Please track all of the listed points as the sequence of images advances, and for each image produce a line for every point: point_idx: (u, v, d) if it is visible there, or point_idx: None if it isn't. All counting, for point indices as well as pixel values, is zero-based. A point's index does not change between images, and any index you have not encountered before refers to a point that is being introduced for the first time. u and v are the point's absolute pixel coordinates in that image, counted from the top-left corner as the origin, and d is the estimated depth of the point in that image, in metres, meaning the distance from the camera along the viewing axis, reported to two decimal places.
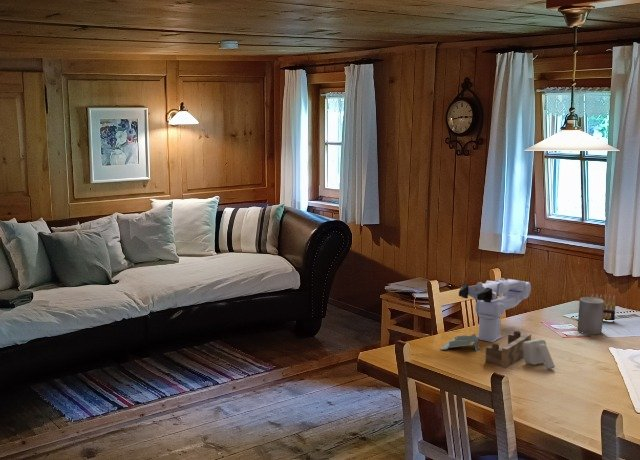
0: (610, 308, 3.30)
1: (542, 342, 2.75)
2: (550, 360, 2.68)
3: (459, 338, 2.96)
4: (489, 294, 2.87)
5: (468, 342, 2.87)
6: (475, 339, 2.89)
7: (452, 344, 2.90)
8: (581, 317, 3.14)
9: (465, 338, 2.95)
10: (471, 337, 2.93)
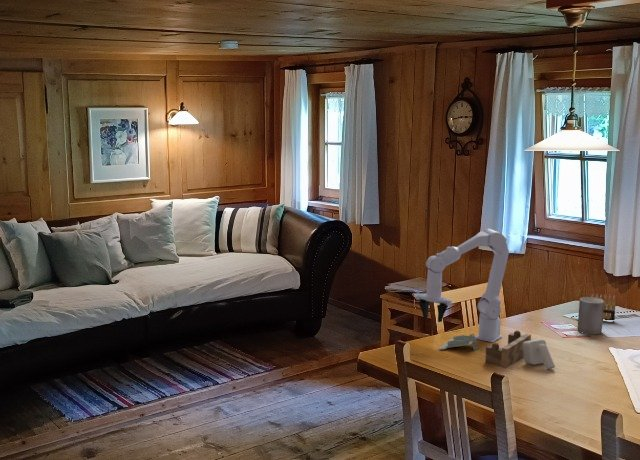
0: (610, 308, 3.30)
1: (542, 342, 2.75)
2: (550, 360, 2.68)
3: (457, 338, 2.96)
4: None
5: (466, 342, 2.87)
6: (473, 339, 2.90)
7: (450, 344, 2.90)
8: (581, 317, 3.14)
9: (463, 338, 2.95)
10: (469, 337, 2.94)
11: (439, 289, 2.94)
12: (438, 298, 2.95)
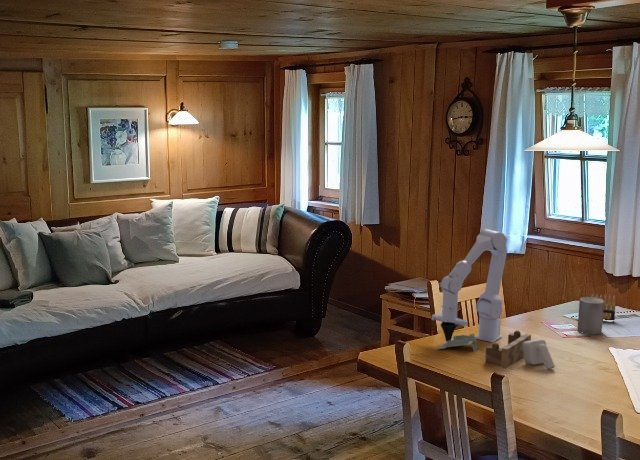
0: (610, 308, 3.30)
1: (542, 342, 2.75)
2: (550, 360, 2.68)
3: (458, 338, 2.96)
4: None
5: (466, 342, 2.87)
6: (473, 339, 2.89)
7: (450, 343, 2.90)
8: (581, 317, 3.14)
9: (464, 338, 2.95)
10: (469, 337, 2.93)
11: (455, 310, 2.91)
12: (454, 319, 2.92)
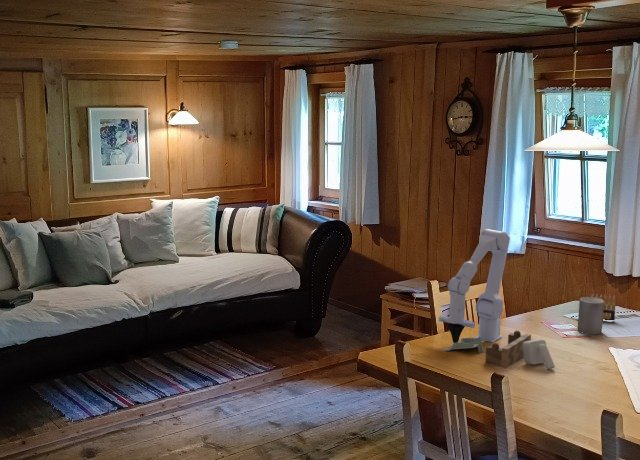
0: (610, 308, 3.30)
1: (542, 342, 2.75)
2: (550, 360, 2.68)
3: (465, 340, 2.94)
4: None
5: (471, 344, 2.85)
6: (479, 342, 2.87)
7: (456, 346, 2.89)
8: (581, 317, 3.14)
9: (471, 340, 2.93)
10: (477, 340, 2.91)
11: (462, 311, 2.89)
12: (461, 320, 2.90)
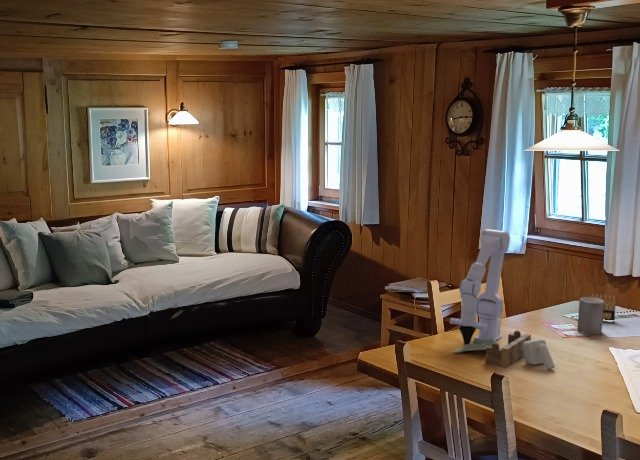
0: (610, 308, 3.30)
1: (542, 342, 2.75)
2: (550, 360, 2.68)
3: (477, 342, 2.91)
4: None
5: (483, 346, 2.82)
6: (491, 343, 2.84)
7: (467, 347, 2.86)
8: (581, 317, 3.14)
9: (483, 342, 2.90)
10: (489, 341, 2.88)
11: (474, 313, 2.87)
12: (473, 323, 2.87)
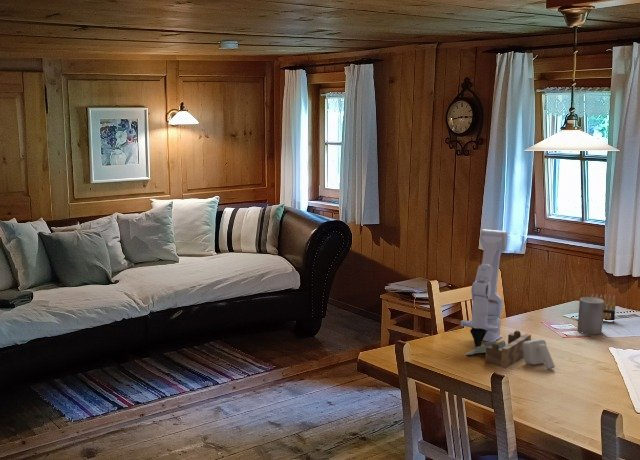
0: (610, 308, 3.30)
1: (542, 342, 2.75)
2: (550, 360, 2.68)
3: (488, 344, 2.88)
4: None
5: None
6: (503, 346, 2.81)
7: (479, 350, 2.83)
8: (581, 317, 3.14)
9: None
10: (500, 343, 2.85)
11: (485, 315, 2.84)
12: (484, 325, 2.84)
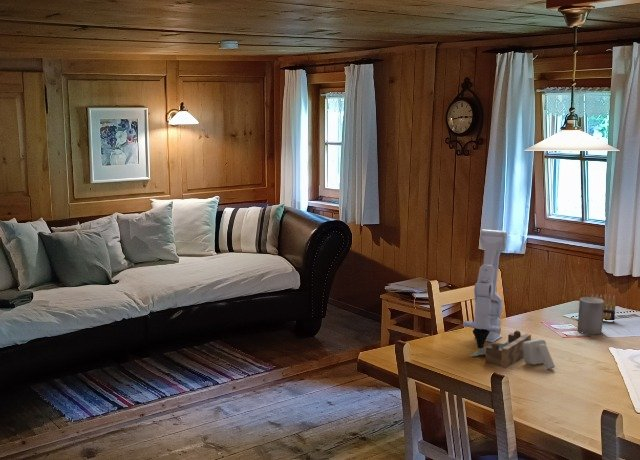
0: (610, 308, 3.30)
1: (542, 342, 2.75)
2: (550, 360, 2.68)
3: None
4: None
5: None
6: None
7: (483, 351, 2.82)
8: (581, 317, 3.14)
9: None
10: (504, 345, 2.85)
11: (488, 316, 2.83)
12: (487, 325, 2.84)
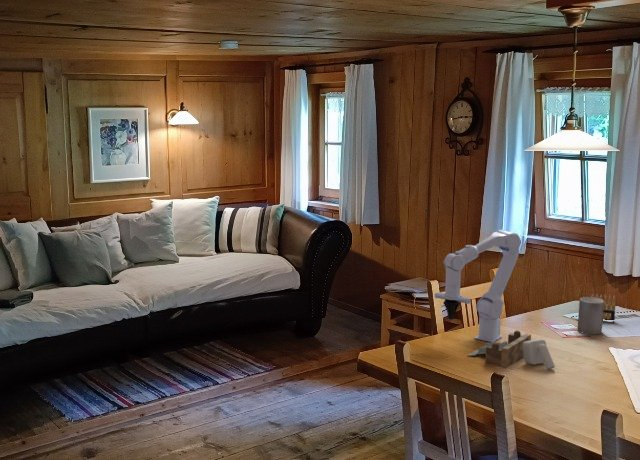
0: (610, 308, 3.30)
1: (542, 342, 2.75)
2: (550, 360, 2.68)
3: (490, 345, 2.88)
4: None
5: None
6: None
7: (481, 350, 2.83)
8: (581, 317, 3.14)
9: None
10: (502, 344, 2.85)
11: (458, 287, 2.92)
12: (457, 296, 2.92)
